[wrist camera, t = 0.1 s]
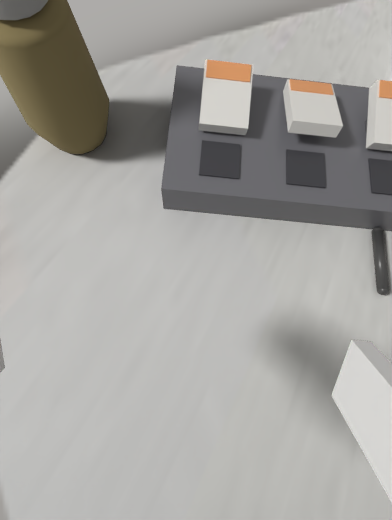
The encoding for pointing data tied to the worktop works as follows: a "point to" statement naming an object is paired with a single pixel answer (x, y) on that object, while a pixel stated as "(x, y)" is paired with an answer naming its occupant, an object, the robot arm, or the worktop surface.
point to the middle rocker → (311, 108)
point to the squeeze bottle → (52, 74)
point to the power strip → (279, 164)
